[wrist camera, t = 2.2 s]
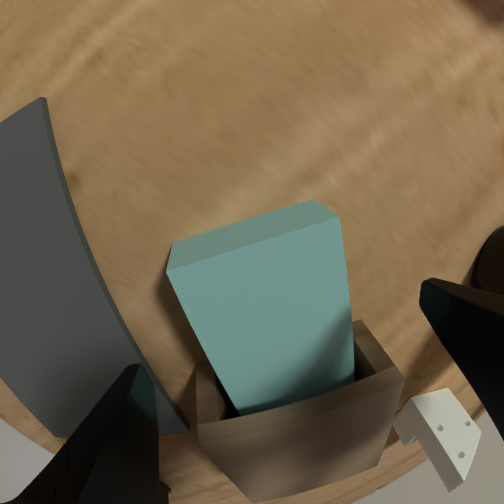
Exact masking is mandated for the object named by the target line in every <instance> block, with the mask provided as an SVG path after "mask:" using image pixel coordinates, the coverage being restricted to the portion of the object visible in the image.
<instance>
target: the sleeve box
mask: <svg viewBox="0 0 504 504" xmlns="http://www.w3.org/2000/svg"><path fill="white" fill-rule="evenodd" d="M352 332H353V348H354V370H355V382H354V383H352V384H349V385H346V386H344V387H341V388H338V389H335V390H333V391H330V392H327V393H324V394H321V395H318V396H315V397H312V398H309V399H305V400H302V401H299V402H296V403H292V404H289V405H285V406H282V407H278V408H274V409H271V410H267V411H263V412H259V413H255V414H250V415H246V416H241V417H239V416H238V414H237V412H236V410H235V408H234V406H233V404H232V402H231V400H230V397H229V395H228V394H227V392H226V390H225V388H224V386H223V385H222V383H221V381H220V379H219V378H218V376H217V374H216V372H215V370H214V368H213V367H212V365H211V363H210V364H206V365H201V366H196V405H197V429H198V443H199V445H200V446H201V447H202V448H203V450H204V451H205V452H206V453H207V454H208V455H209V457H210V458H211V459H212V460H213V461H214V462H215V464H216V465H217V466H218V467H219V468H220V469H221V470H222V471H223V473H224V474H225V475H226V476H227V477H228V478H229V479H230V480H231V481H232V482H233V483H234V484H235V485H236V486H237V487H238V489H239V490H240V491H241V492H242V493H243V494H244V495H245V496H246V497H247V498H248V499H249V500H250V501H251V502H253V503H257V502H262V501H267V500H272V499H277V498H281V497H285V496H289V495H293V494H297V493H301V492H305V491H308V490H311V489H315V488H318V487H321V486H324V485H327V484H330V483H333V482H336V481H339V480H342V479H345V478H347V477H350V476H353V475H355V474H358V473H360V472H363V471H365V470H368V469H370V468H372V467H375V466H377V465H378V462H379V460H380V457H381V455H382V452H383V449H384V447H385V444H386V441H387V439H388V436H389V433H390V430H391V427H392V424H393V421H394V418H395V415H396V411H397V408H398V405H399V401H400V398H401V394H402V391H403V387H404V383H405V378H404V377H403V375H402V374H401V373H400V371H399V370H398V368H397V367H396V366H395V364H394V363H393V362H392V360H391V359H390V357H389V356H388V355H387V353H386V352H385V351H384V349H383V348H382V347H381V345H380V344H379V343H378V341H377V340H376V339H375V337H374V336H373V335H372V333H371V332H370V331H369V329H368V328H367V327H366V325H365V324H364V323H363V322H362V320H359V321H356V322H353V323H352Z"/></svg>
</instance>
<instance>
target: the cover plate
mask: <svg viewBox="0 0 504 504" xmlns="http://www.w3.org/2000/svg"><path fill="white" fill-rule="evenodd" d="M166 273H167V275H168V277H169V280H170V282H171V284H172V286H173V288H174V291H175V293H176V295H177V297H178V299H179V301H180V303H181V306H182V308H183V310H184V312H185V314H186V316H187V318H188V320H189V322H190V324H191V326H192V328H193V330H194V332H195V334H196V336H197V338H198V340H199V342H200V344H201V346H202V348H203V350H204V352H205V353H206V355H207V357H208V359H209V361H210V363H211V365H212V367H213V368H214V370H215V372H216V374H217V376H218V378H219V379H220V381H221V383H222V385H223V386H224V388H225V390H226V392H227V394H228V395H229V397H230V399H231V400H232V402H233V404H234V406H235V407H236V409H237V411H238V412H239V414H240V416H246V415H250V414H255V413H259V412H263V411H267V410H271V409H274V408H278V407H282V406H285V405H289V404H292V403H296V402H299V401H302V400H305V399H309V398H312V397H315V396H318V395H321V394H324V393H327V392H330V391H333V390H335V389H338V388H341V387H344V386H346V385H349V384H352V383H354V382H355V370H354V348H353V332H352V318H351V306H350V295H349V285H348V276H347V268H346V260H345V252H344V244H343V237H342V231H341V224H340V218H339V216H337V215H336V214H334V213H333V212H331V211H330V210H328V209H327V208H325V207H324V206H322V205H321V204H319V203H318V202H316V201H315V200H313V199H312V200H309V201H305V202H302V203H298V204H295V205H292V206H288V207H285V208H281V209H278V210H275V211H271V212H268V213H265V214H262V215H258V216H255V217H252V218H249V219H245V220H242V221H239V222H236V223H233V224H229V225H226V226H223V227H220V228H217V229H214V230H211V231H207V232H204V233H201V234H198V235H195V236H192V237H189V238H186V239H183V240H180V241H177V242H174V243H173V244H172V248H171V252H170V257H169V261H168V265H167V269H166Z"/></svg>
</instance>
